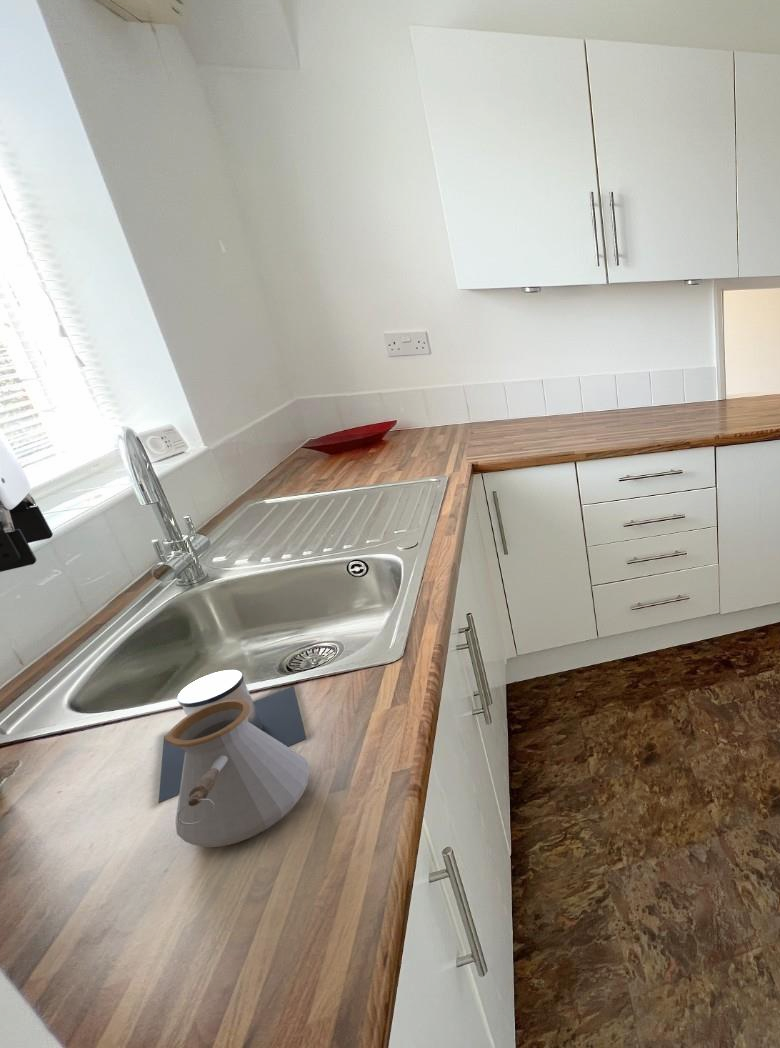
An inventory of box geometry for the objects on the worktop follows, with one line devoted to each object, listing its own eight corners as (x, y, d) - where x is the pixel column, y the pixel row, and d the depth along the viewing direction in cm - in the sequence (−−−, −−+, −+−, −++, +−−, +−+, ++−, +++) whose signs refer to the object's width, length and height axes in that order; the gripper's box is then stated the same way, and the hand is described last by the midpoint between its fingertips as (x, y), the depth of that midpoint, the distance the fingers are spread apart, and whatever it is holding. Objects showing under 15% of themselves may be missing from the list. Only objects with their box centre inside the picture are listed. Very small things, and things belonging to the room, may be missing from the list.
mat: (159, 805, 65) (158, 803, 65) (165, 738, 75) (163, 735, 75) (307, 741, 73) (306, 738, 73) (294, 688, 83) (293, 685, 83)
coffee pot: (190, 808, 64) (132, 699, 59) (313, 756, 71) (270, 653, 65) (172, 975, 48) (89, 848, 43) (332, 888, 55) (278, 767, 49)
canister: (203, 764, 70) (176, 711, 67) (203, 736, 74) (177, 685, 71) (266, 737, 73) (243, 686, 70) (262, 712, 78) (240, 663, 75)
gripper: (-85, 401, 64) (-4, 541, 70) (-154, 424, 52) (-48, 592, 58) (15, 390, 68) (83, 523, 75) (-26, 409, 56) (59, 567, 62)
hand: (25, 553), depth 66 cm, fingers open, 9 cm apart
